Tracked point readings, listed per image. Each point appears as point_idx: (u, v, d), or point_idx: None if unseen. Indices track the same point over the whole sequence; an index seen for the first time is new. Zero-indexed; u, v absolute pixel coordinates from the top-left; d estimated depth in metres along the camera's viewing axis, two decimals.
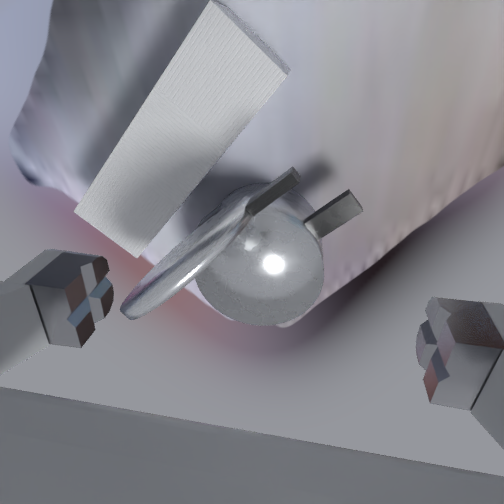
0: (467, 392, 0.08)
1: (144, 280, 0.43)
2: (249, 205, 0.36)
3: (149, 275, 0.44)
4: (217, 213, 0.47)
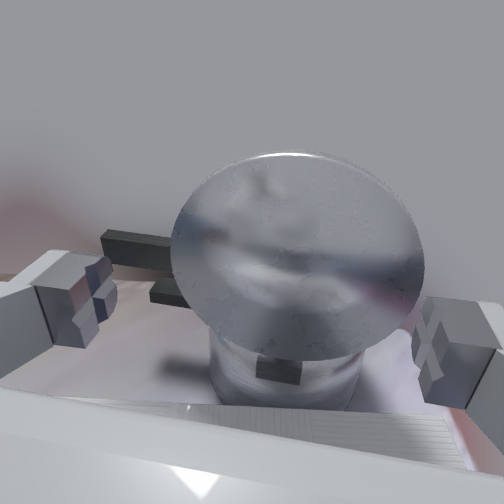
0: (461, 391, 0.08)
1: (387, 293, 0.26)
2: (163, 245, 0.28)
3: (378, 300, 0.27)
4: (256, 347, 0.32)
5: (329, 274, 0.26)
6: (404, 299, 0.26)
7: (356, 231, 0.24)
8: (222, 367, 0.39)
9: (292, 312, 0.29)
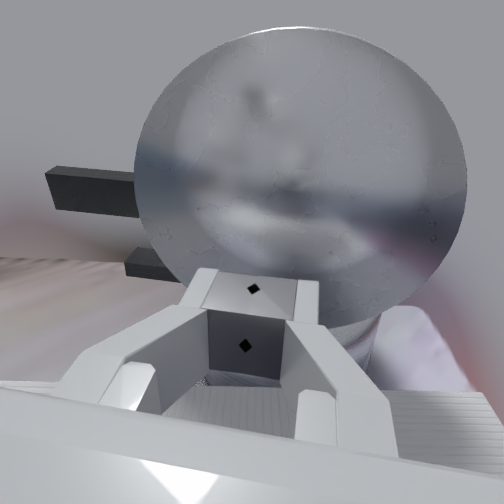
0: (275, 362, 0.08)
1: (415, 231, 0.20)
2: (125, 180, 0.22)
3: (404, 242, 0.21)
4: None
5: (340, 208, 0.20)
6: (438, 238, 0.20)
7: (376, 141, 0.18)
8: None
9: (292, 265, 0.23)
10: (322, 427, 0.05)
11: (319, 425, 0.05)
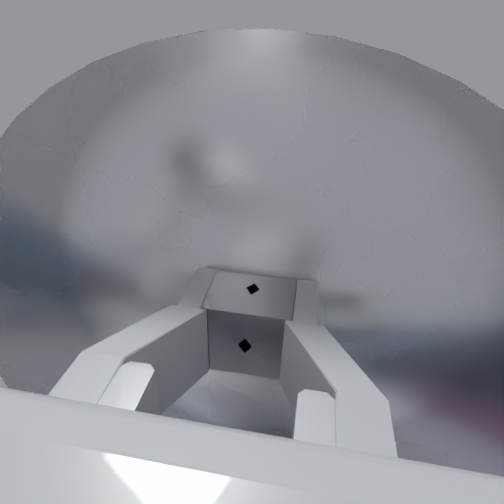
0: (275, 362, 0.08)
1: (495, 425, 0.10)
2: None
3: (470, 439, 0.11)
4: None
5: None
6: None
7: (428, 270, 0.08)
8: None
9: None
10: (321, 427, 0.05)
11: (318, 425, 0.05)
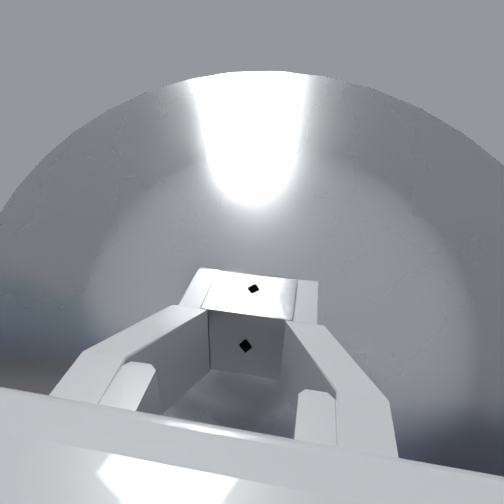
0: (275, 362, 0.08)
1: None
2: None
3: None
4: None
5: None
6: None
7: (417, 269, 0.09)
8: None
9: None
10: (322, 427, 0.05)
11: (319, 425, 0.05)
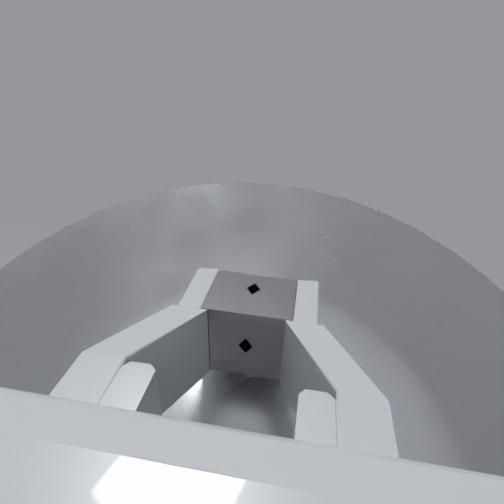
0: (275, 362, 0.08)
1: None
2: None
3: None
4: None
5: None
6: None
7: (398, 331, 0.10)
8: None
9: None
10: (322, 427, 0.05)
11: (319, 425, 0.05)
